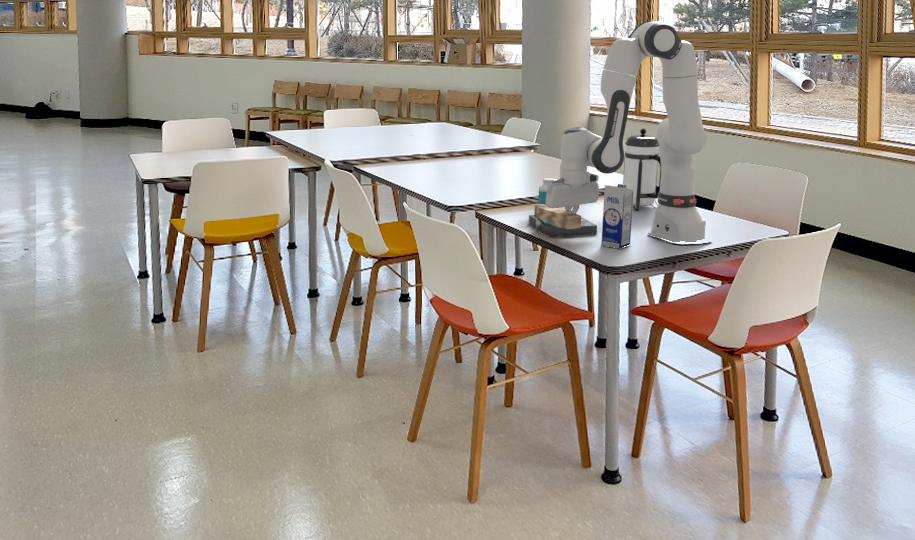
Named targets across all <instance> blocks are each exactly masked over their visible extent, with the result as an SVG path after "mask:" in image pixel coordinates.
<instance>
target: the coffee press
mask: <svg viewBox="0 0 915 540" xmlns="http://www.w3.org/2000/svg"><path fill="white" fill-rule="evenodd" d="M639 132H640V134H633V135H630V136H628V137H627V139H626V141H625V142H624V144H625V151H624V162H623V165H624V166H623V176H622V177H623V178H622V179H623V180H622V185H626V188H628V189H631V190H633V191H634V192H633V207H635V211H636V212H640V207H649V206H651V207H652V208H654V209H655V208H656V207H657V206H658V202H656V199H658V193H659V192H660V182H661V159H660V152H659V139H658V137H656V136H653V135H649V134H646V133H647V130H646V129H645V128H641V129H640V130H639ZM658 166H659V183H658V191H657V190H656V189H657V182H658V181H657V180H658V179H657V178H658V176H657V175H658ZM654 203H655V205H656V207H655V206H654Z"/></svg>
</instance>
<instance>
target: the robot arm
mask: <svg viewBox="0 0 915 540" xmlns="http://www.w3.org/2000/svg"><path fill="white" fill-rule="evenodd" d="M645 58H658V59H659V60H660V62H661V66H662V70H661V71H662V76H661V77H662V101H663V104H664V107H665V111H666V115H667V117H666V118H663V120H661V121H660V123H658V125H657V128H656V135H657V139H658V142H659V147H658V150H659V156H660V159H661V182H660V192H659V193H658V192H657V193H658V198H657V205H658V206H657V205H656V207H655V208H656V209H655V208H654V209H655V210H653V214H652V222H651V226H650V227H651V228H650V231H648V232H647V235H648V234H649V235H652V236H655V237H659V238H663V239H666V240H669V241H672V242H680V241H685V242H696V241H697V240H702V239H705V235H706V220H705V219H703V218H702V217H701V215H700V213H699V211H698V209H697V207H696V205H697V204H696V203H697V199H696V196H695V192H694V190H695V179H696V178H695V177H696V169H695V166H694V161H693V160H694V159H693V155H696V154H698V153H700V152H701V151H702V150H703V149H704V148H705V146H706V144H707V142H708V141H707V139H708V138H707V133H706V130H705V129H704V124H703V119H702V114H701V113H702V112H701V108H700V103H699V96H698V95H699V94H698V93H699V92H698V89H699V86H698V84H699V83H698V64H697V63H698V62H697V56H696V52H695V47H694V45H693V44H692V43H691V42H689V41H687V40H682V39H681V38H680V36H679V34H678V32H677V30H676V29H675V27H673V26H672V25H671V24H670V23H668V22H665V21H664V22H663V21H658V20H653V21H644V22H642V23H640V24H638V25H637V26H636V27H635V28H634V29H633V30H632V32H631V33H630V34H629V35H628V36H627V37H620V38H617V39H615V40H614V41H613V42H612V43H611V46H610V48H609V50H608V53H607V56H606V58H605V62H604V65H603V68H602V73H601V76H600V77H601V78H600V93H601V96H603V99H604V101H605V104H606V110H607V111H606V119H605V124H604V125H605V126H604V129H603V134H602V136H600V135H597V134H595V133H593V132H591V131H590V130H588V129H587V128H586V127H584V126H579V127H577V126H575V127H572V128H568V129H566V130H565V131H564V132H563V133H562V137H561V142H560V159H561V162H560V165H559V178H558V179H556V180H551V182H550V183H549V184H548V189H547V195H546V205H547V207H549V208H559V209H561V208H564V210H565V211H568V212H571V213H574V214H577V212H578V210H579V209H580V205H581V206H582V205H586V204H595V203H597V202H598V200H599V196H600V190H599V189H600V187H599V183H598V181H599V175H598V174H595V173H592V172H589V171H588V167H589V166H593V167H594V168H595V169H596V170H597V171H598V172H600V173H602V174H606V175H607V174H613V173H615V172H617V171H618V170H619V169H620V168H621V167H622V165H624V160H625V151H624V144H623V143H624V136H625V132H626V127H627V125H626V124H627V121H628V115H629V109H630V104H631V100H632V96H633V93H634V89H635V86H636V83H637V78H638V75H639V70H640V66H641V64H642V63H643V61H644V60H645ZM649 235H648V236H649ZM652 236H651V237H652Z"/></svg>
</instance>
